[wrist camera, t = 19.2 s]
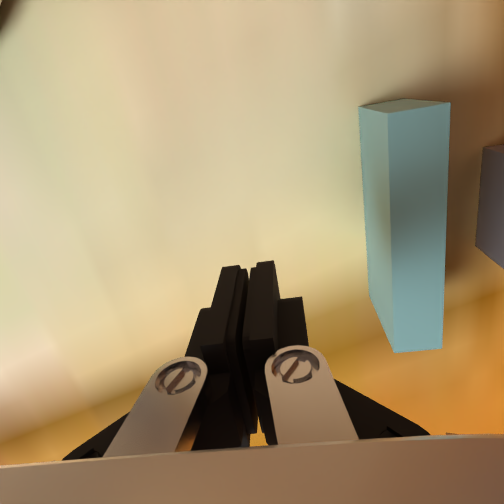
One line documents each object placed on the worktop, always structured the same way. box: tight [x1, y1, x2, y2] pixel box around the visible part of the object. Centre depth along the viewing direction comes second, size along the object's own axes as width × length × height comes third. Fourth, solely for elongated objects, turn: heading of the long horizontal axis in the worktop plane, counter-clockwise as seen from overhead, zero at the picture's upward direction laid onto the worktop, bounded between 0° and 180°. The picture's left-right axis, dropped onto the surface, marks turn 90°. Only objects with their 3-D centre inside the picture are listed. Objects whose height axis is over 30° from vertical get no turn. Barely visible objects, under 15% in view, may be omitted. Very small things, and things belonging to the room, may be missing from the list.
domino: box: [358, 99, 451, 353], centre depth 16 cm, size 2×5×10 cm
